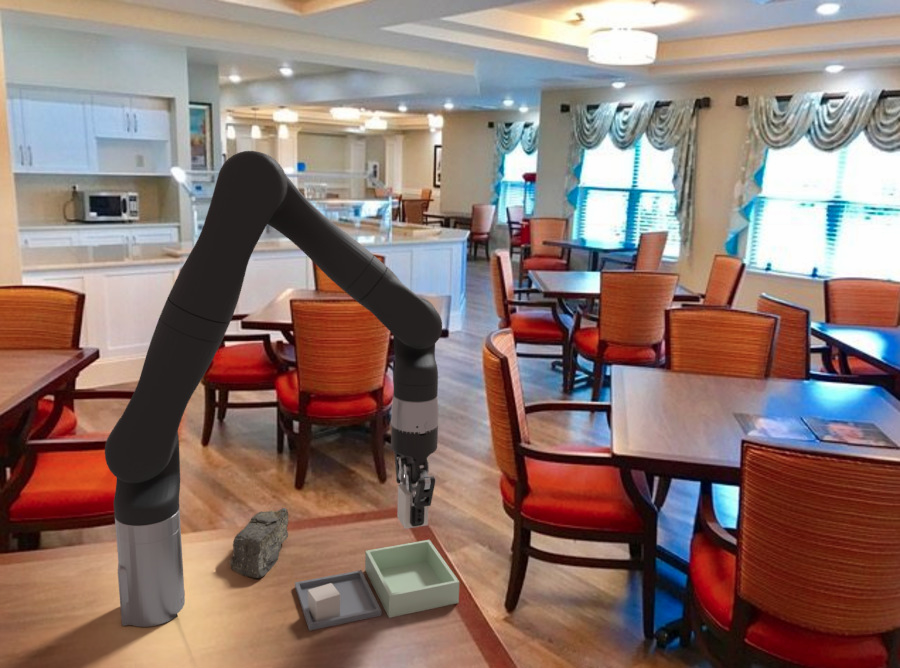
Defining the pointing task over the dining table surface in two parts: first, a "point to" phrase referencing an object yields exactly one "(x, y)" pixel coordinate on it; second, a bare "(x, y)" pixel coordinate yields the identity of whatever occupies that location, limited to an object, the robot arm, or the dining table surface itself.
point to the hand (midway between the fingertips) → (412, 517)
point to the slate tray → (341, 598)
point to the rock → (259, 543)
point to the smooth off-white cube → (324, 602)
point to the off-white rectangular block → (407, 507)
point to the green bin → (411, 578)
